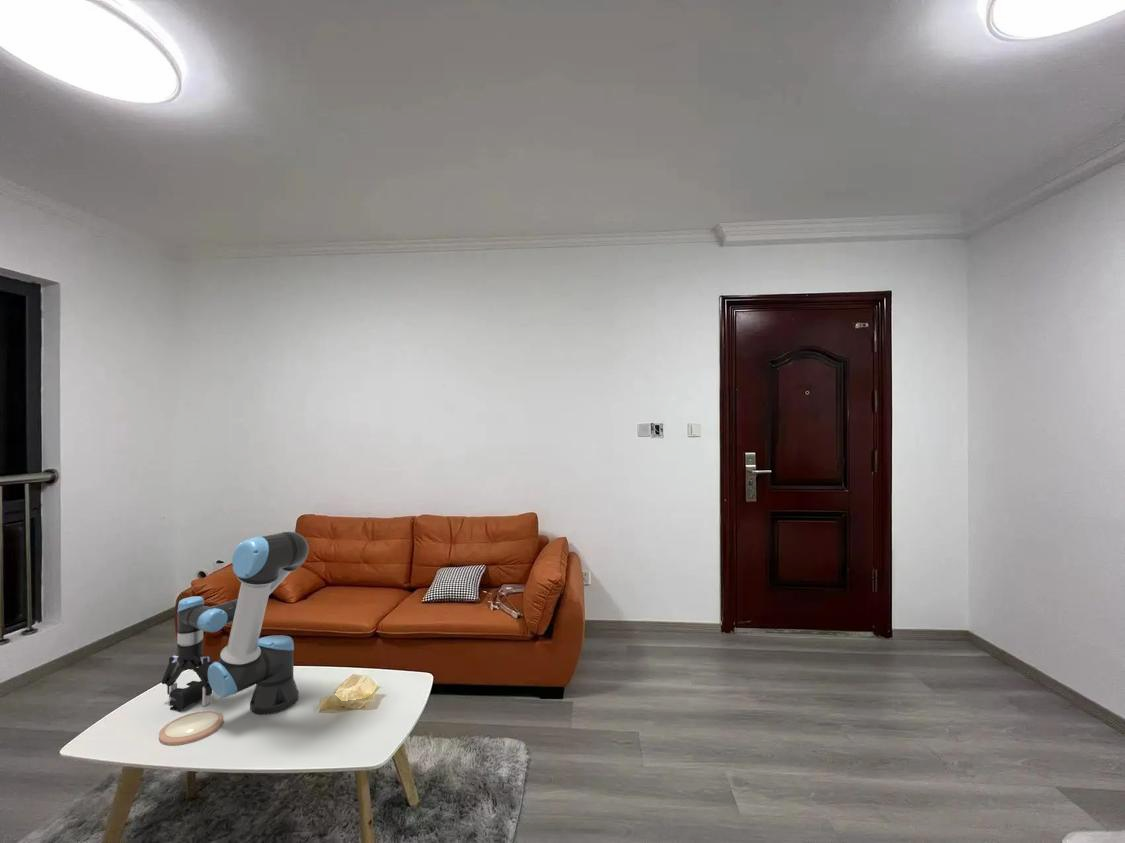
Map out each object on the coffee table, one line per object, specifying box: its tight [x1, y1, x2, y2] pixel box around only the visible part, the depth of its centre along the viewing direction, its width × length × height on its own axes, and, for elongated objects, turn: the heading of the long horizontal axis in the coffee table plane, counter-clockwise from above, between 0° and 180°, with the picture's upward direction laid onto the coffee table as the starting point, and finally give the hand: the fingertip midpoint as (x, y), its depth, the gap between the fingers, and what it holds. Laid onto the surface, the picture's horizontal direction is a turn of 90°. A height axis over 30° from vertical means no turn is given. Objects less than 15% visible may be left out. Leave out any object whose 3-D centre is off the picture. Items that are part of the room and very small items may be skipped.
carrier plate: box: [158, 710, 224, 746], centre depth 167 cm, size 17×17×2 cm
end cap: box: [168, 680, 205, 712], centre depth 183 cm, size 10×7×7 cm
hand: (189, 703), depth 183 cm, fingers open, 12 cm apart
